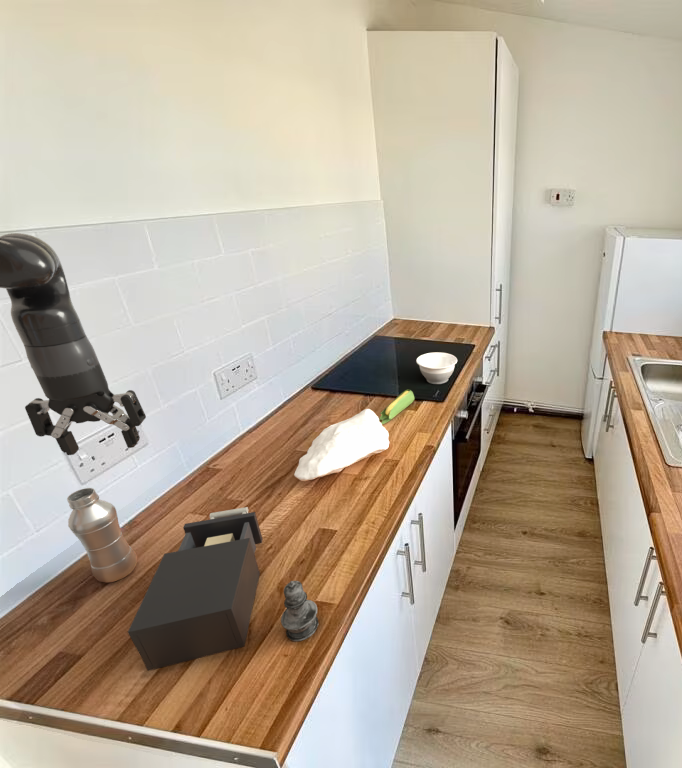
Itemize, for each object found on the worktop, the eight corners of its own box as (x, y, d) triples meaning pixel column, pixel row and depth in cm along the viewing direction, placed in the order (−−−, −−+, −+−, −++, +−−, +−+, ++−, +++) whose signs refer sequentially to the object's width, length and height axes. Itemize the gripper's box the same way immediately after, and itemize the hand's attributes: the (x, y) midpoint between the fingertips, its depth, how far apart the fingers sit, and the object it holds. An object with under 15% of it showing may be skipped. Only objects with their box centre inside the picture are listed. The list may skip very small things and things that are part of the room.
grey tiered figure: (283, 620, 79) (271, 573, 74) (318, 607, 81) (308, 562, 76) (285, 648, 74) (271, 601, 69) (321, 634, 77) (311, 588, 72)
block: (206, 571, 85) (200, 554, 83) (212, 553, 89) (207, 537, 87) (232, 565, 86) (227, 549, 84) (237, 549, 90) (232, 533, 88)
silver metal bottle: (89, 581, 84) (45, 501, 75) (126, 555, 90) (90, 479, 81) (111, 591, 82) (70, 511, 73) (148, 564, 88) (114, 487, 79)
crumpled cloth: (411, 427, 137) (405, 401, 134) (357, 498, 106) (347, 467, 103) (345, 427, 142) (338, 402, 139) (274, 495, 111) (262, 465, 107)
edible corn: (418, 400, 157) (417, 389, 155) (388, 427, 139) (387, 415, 137) (405, 397, 158) (404, 386, 156) (374, 424, 141) (373, 412, 139)
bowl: (449, 390, 165) (448, 370, 161) (410, 384, 168) (409, 364, 164) (462, 374, 179) (462, 355, 175) (427, 368, 182) (426, 350, 178)
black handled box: (179, 590, 83) (164, 553, 79) (260, 573, 88) (249, 537, 83) (148, 671, 70) (127, 632, 66) (244, 646, 74) (231, 608, 70)
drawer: (202, 533, 95) (192, 506, 91) (266, 522, 99) (259, 495, 95) (171, 612, 78) (158, 582, 75) (250, 595, 82) (240, 565, 79)
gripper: (131, 353, 75) (159, 432, 82) (24, 360, 70) (64, 443, 77) (111, 370, 68) (144, 455, 76) (-8, 379, 64) (39, 467, 71)
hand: (103, 448), depth 76 cm, fingers open, 8 cm apart
